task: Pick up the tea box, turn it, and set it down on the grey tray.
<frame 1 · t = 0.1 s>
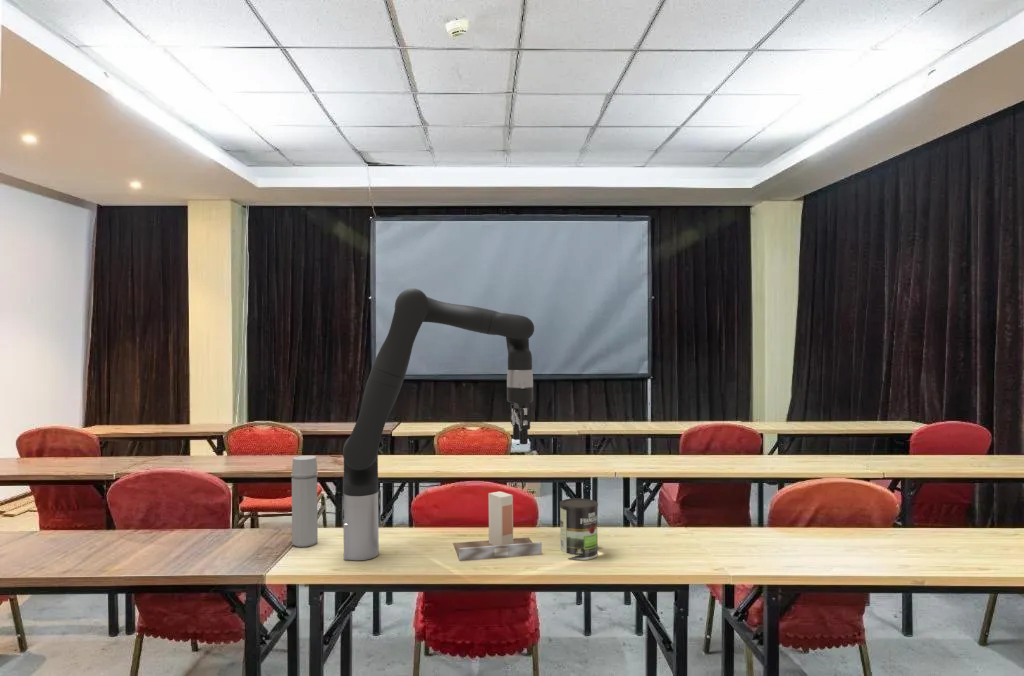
hand: (520, 441, 188), 29 cm above the table, tool pointing down, fingers open, 8 cm apart
tea box: (501, 544, 182), point 1 cm above the table, touching grey tray
coffee can: (579, 554, 178), on the table
water bottle: (306, 543, 190), on the table
grey tray: (496, 553, 179), on the table
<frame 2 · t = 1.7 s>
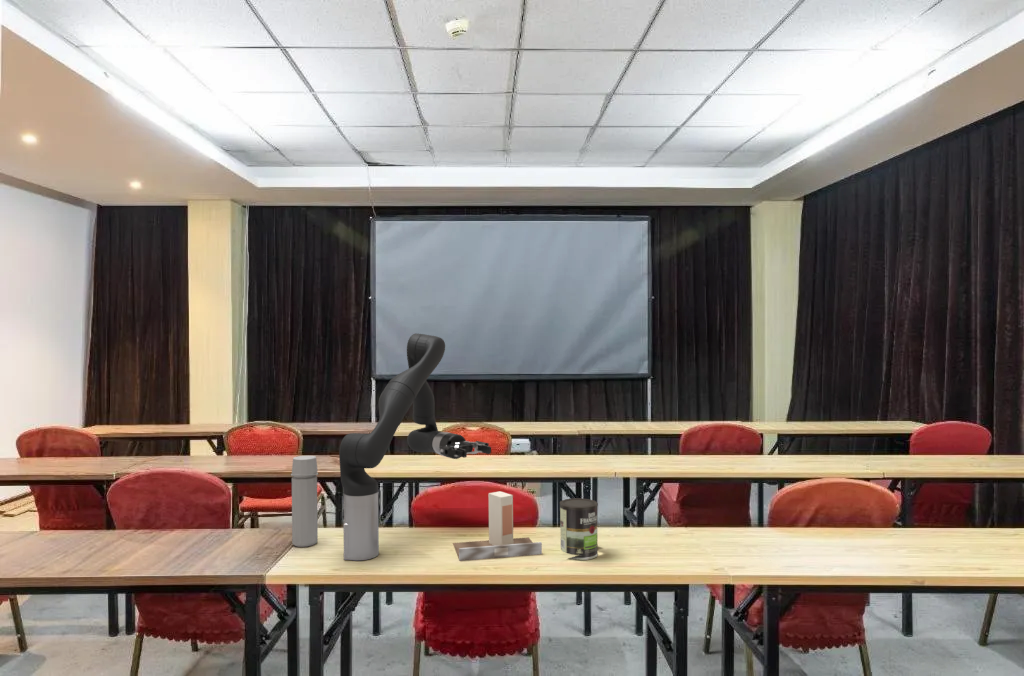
hand: (478, 452, 191), 26 cm above the table, tool horizontal, fingers open, 8 cm apart
nothing on the table moved.
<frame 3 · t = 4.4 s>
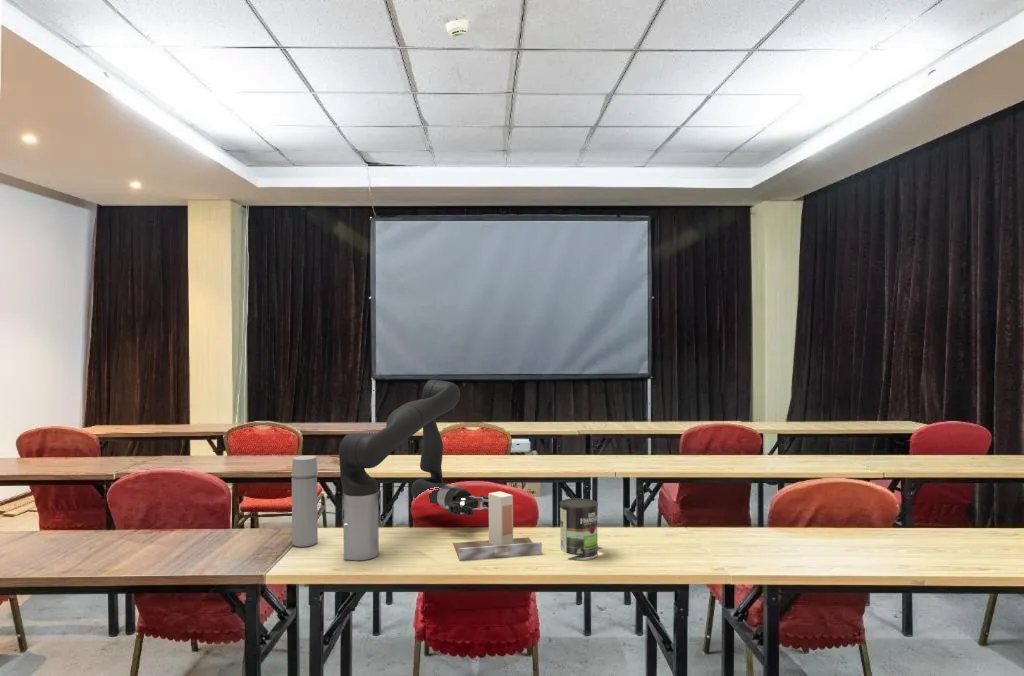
hand: (484, 509, 188), 10 cm above the table, tool horizontal, fingers open, 8 cm apart
nothing on the table moved.
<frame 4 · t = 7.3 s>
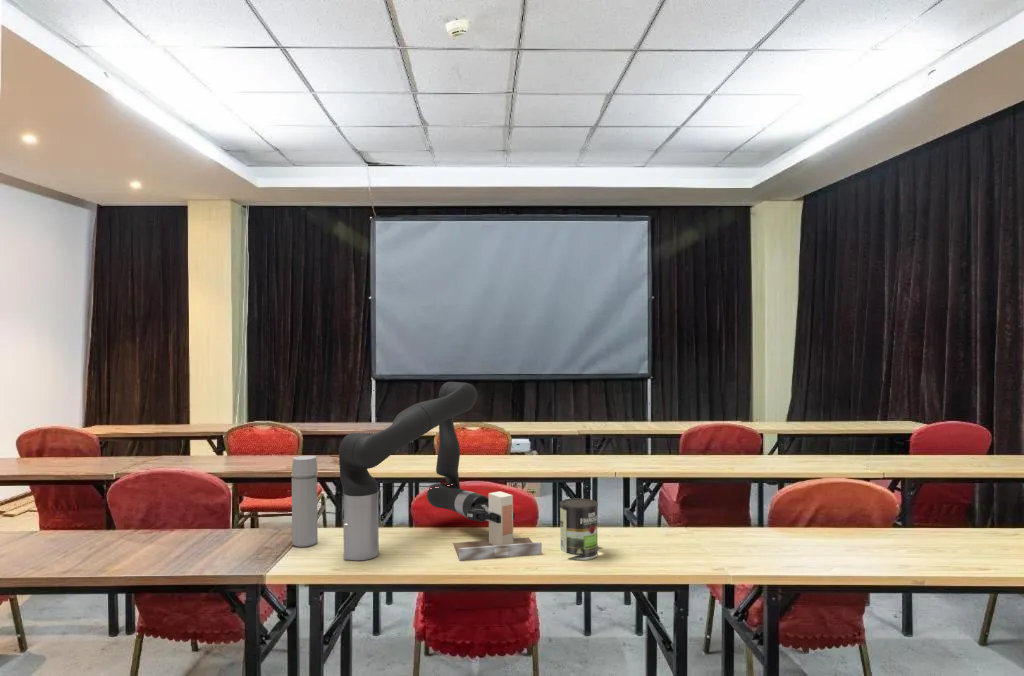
hand: (506, 517, 180), 9 cm above the table, tool horizontal, fingers closed on tea box, 4 cm apart
tea box: (501, 544, 182), point 2 cm above the table, touching gripper, grey tray
everything else where it was.
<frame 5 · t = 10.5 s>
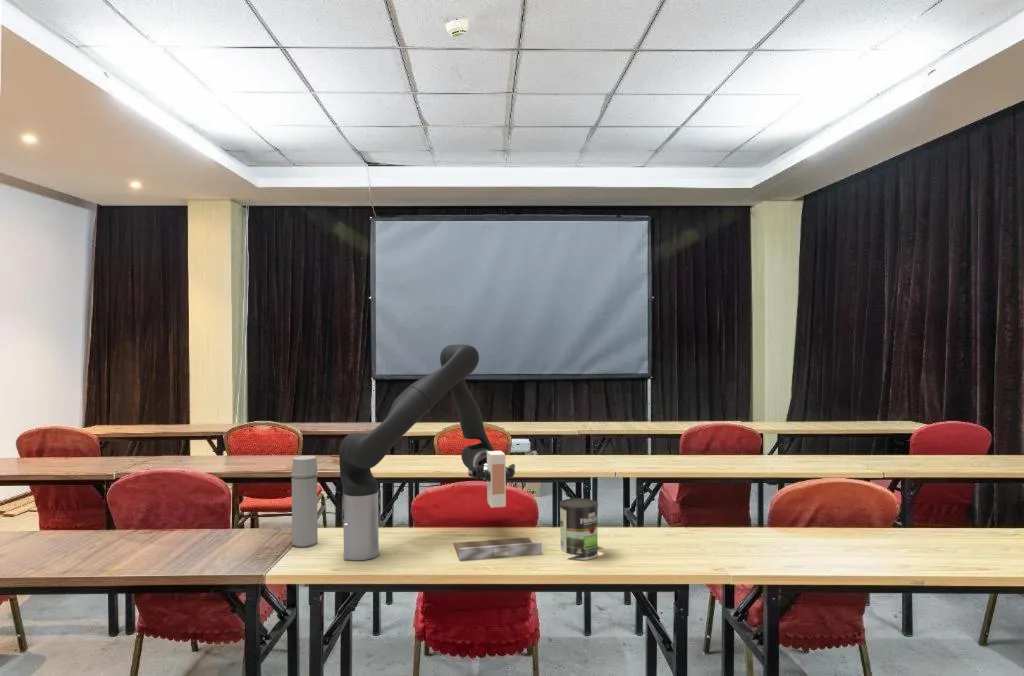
hand: (498, 477, 174), 22 cm above the table, tool horizontal, fingers closed on tea box, 4 cm apart
tea box: (496, 504, 177), point 14 cm above the table, touching gripper
everything else where it was.
when the fingers open (10 cm above the table, at t = 13.9 s): tea box stays where it is, resting on grey tray.
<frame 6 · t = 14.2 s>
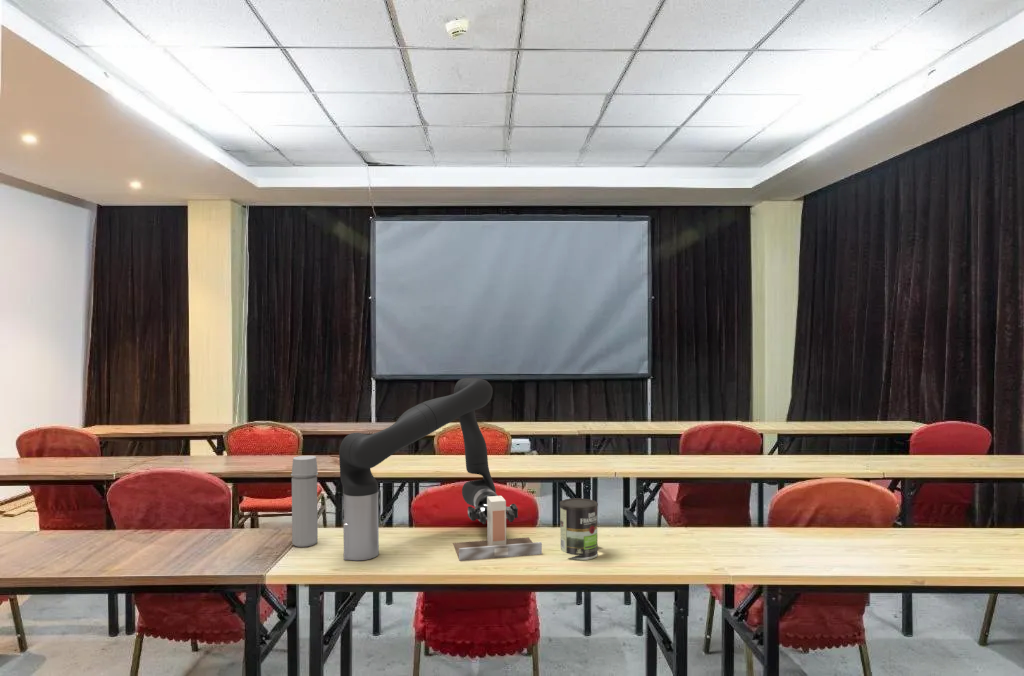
hand: (498, 519, 175), 11 cm above the table, tool horizontal, fingers open, 6 cm apart
tea box: (496, 550, 177), point 2 cm above the table, touching grey tray
everything else where it was.
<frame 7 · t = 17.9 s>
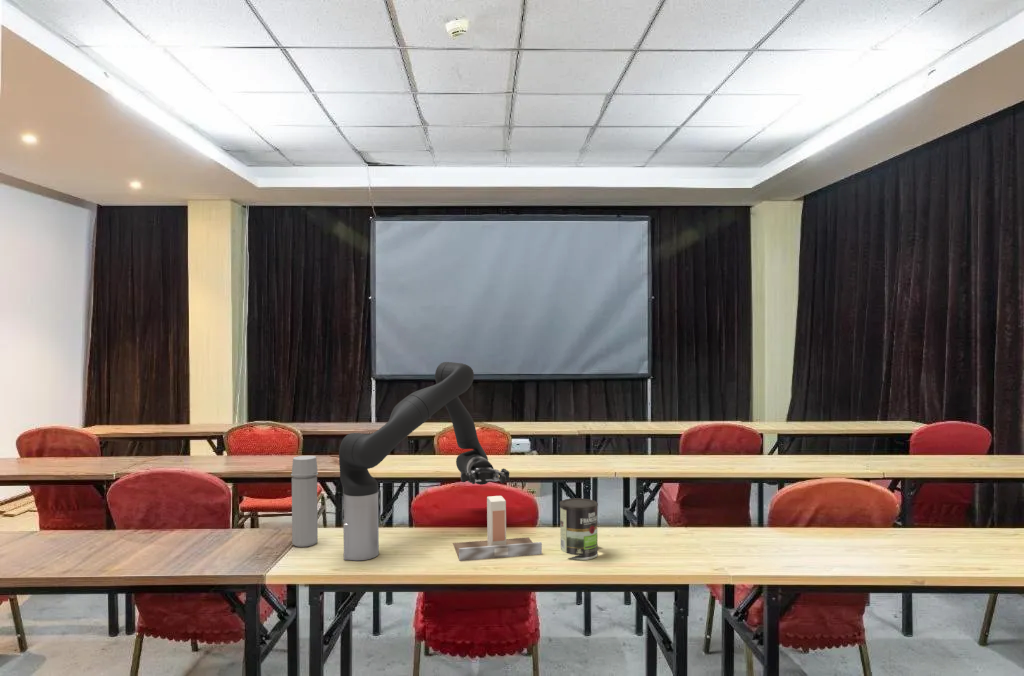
hand: (488, 480, 188), 18 cm above the table, tool horizontal, fingers open, 8 cm apart
nothing on the table moved.
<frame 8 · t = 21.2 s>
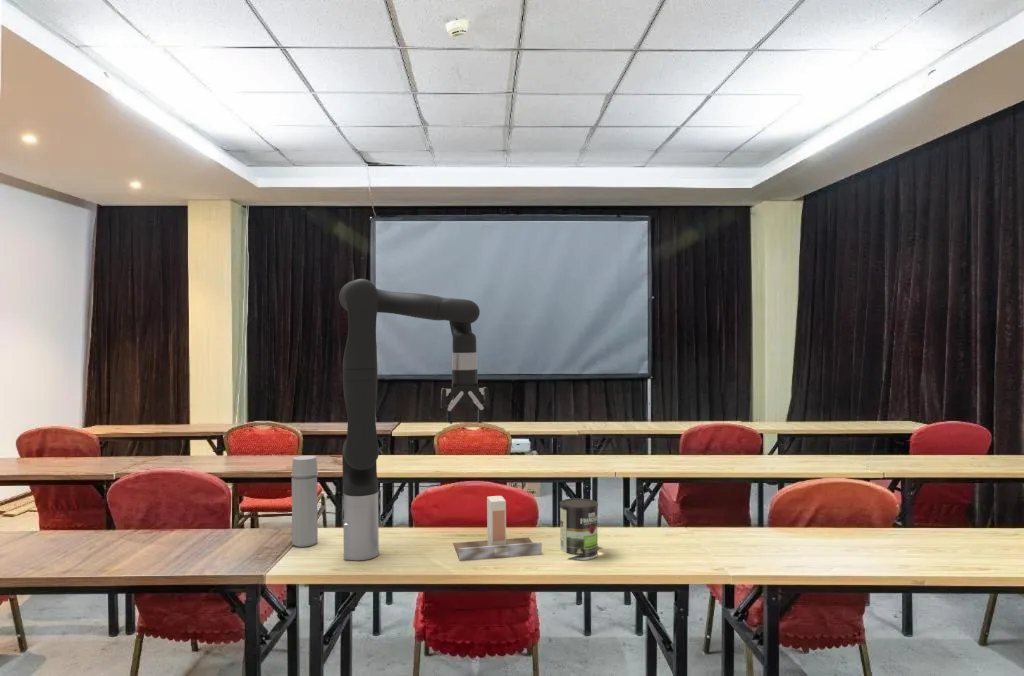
hand: (465, 423, 192), 34 cm above the table, tool pointing down, fingers open, 8 cm apart
nothing on the table moved.
at the end: tea box 0.5 cm from the target spot on the grey tray, point 1.5 cm above the grey tray's base; tea box tilted 0°; the gripper is holding nothing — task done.
